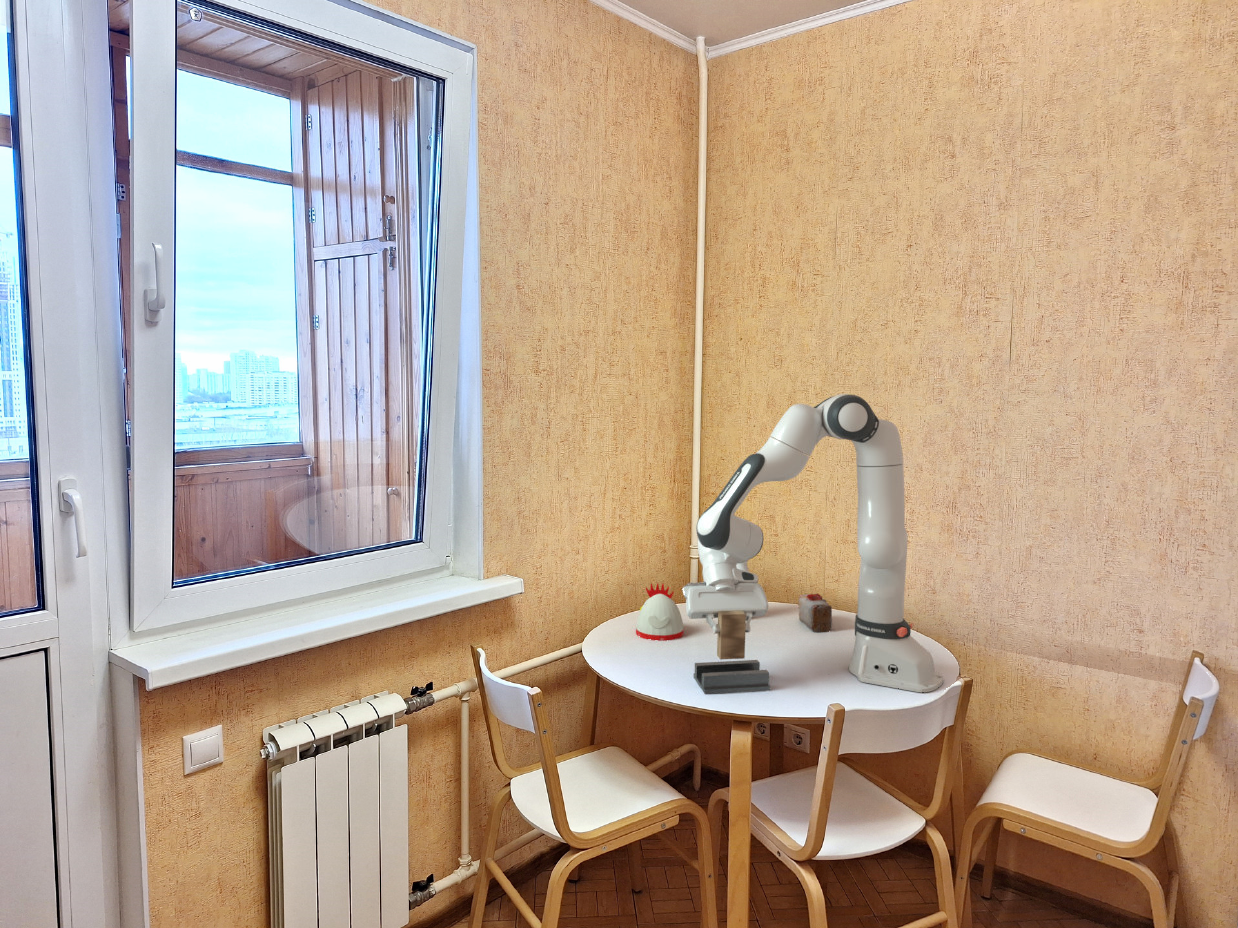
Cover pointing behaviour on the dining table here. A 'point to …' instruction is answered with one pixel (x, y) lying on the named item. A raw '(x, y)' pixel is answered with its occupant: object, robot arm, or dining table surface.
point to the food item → (815, 612)
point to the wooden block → (731, 635)
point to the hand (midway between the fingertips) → (732, 631)
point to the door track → (731, 677)
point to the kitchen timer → (659, 617)
